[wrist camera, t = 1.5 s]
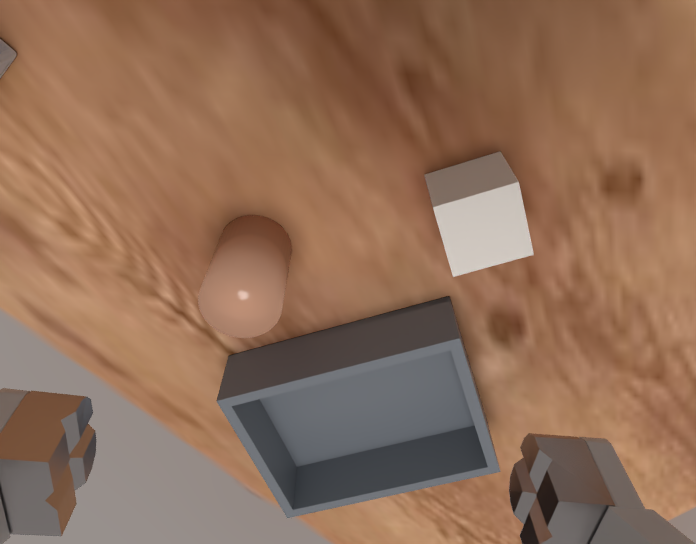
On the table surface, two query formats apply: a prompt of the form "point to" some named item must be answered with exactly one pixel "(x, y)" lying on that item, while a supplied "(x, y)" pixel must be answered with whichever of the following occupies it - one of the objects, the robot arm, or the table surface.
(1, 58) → the light bulb box
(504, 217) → the cream cube
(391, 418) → the box
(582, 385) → the table surface
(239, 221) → the tan rounded cylinder
